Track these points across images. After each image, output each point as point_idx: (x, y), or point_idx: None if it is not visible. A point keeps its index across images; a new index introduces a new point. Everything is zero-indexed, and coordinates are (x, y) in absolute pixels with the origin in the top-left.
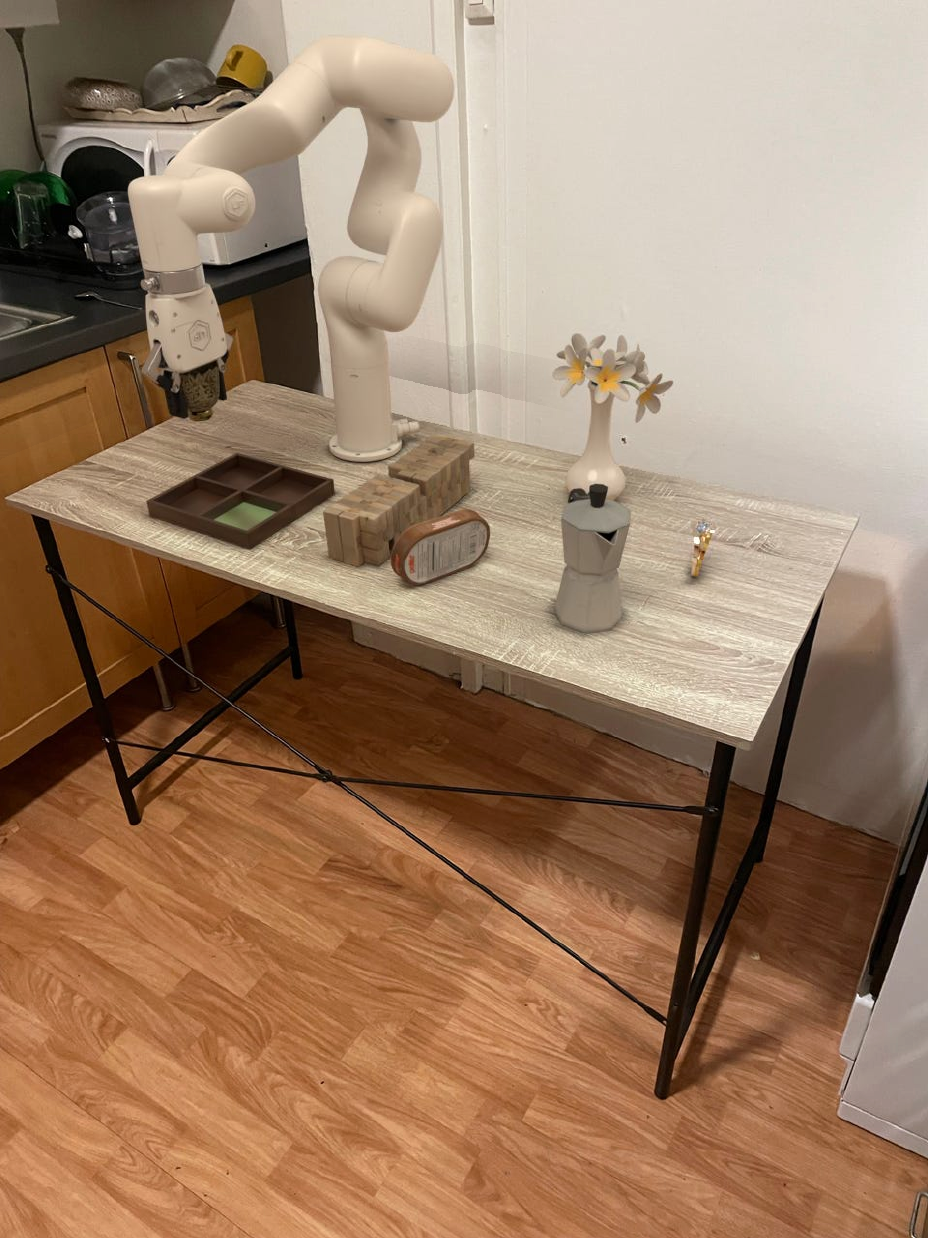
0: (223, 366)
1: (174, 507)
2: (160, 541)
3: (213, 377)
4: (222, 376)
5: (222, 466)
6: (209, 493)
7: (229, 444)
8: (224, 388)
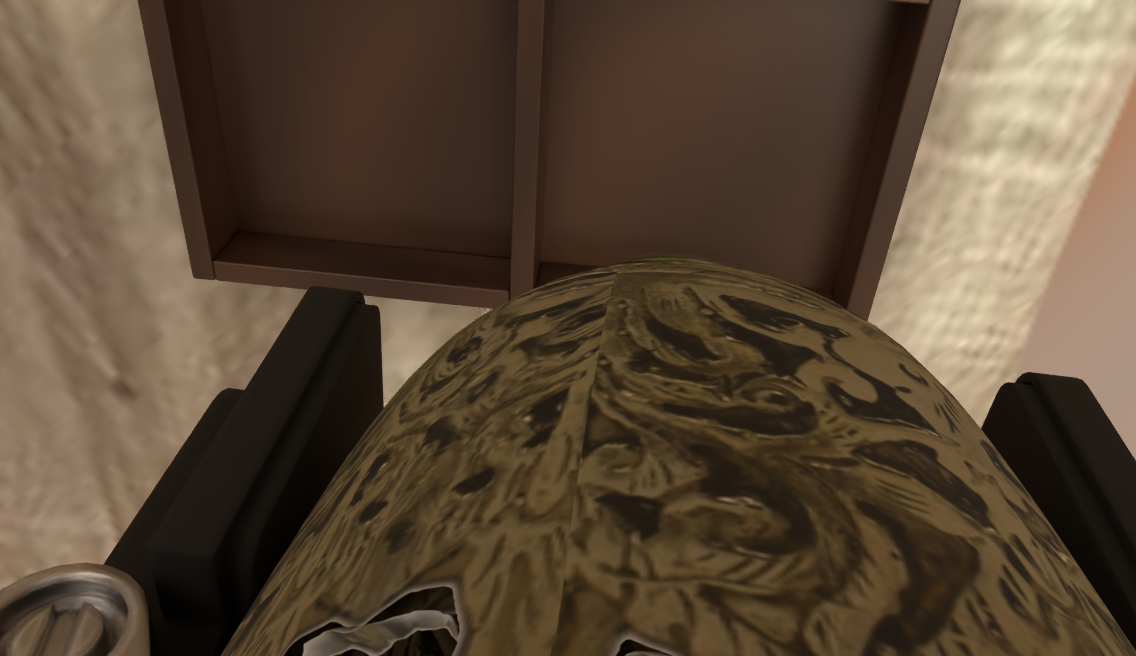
0: (15, 653)
1: (884, 179)
2: (1081, 94)
3: (678, 516)
4: (196, 511)
5: (336, 263)
6: (554, 177)
7: (102, 401)
8: (281, 371)
